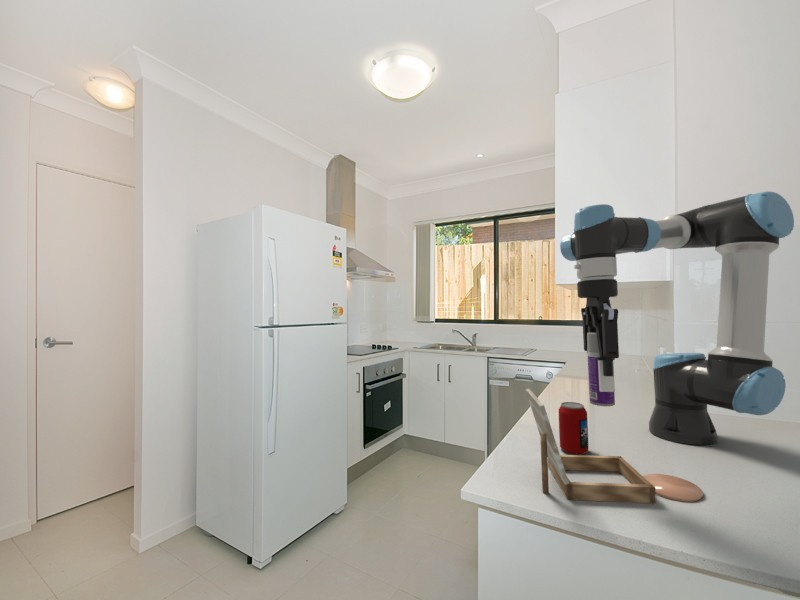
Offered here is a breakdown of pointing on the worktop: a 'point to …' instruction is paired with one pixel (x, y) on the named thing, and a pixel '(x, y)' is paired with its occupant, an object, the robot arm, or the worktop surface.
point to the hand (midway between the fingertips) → (601, 387)
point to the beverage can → (573, 428)
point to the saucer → (674, 488)
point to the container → (596, 374)
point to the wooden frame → (586, 468)
